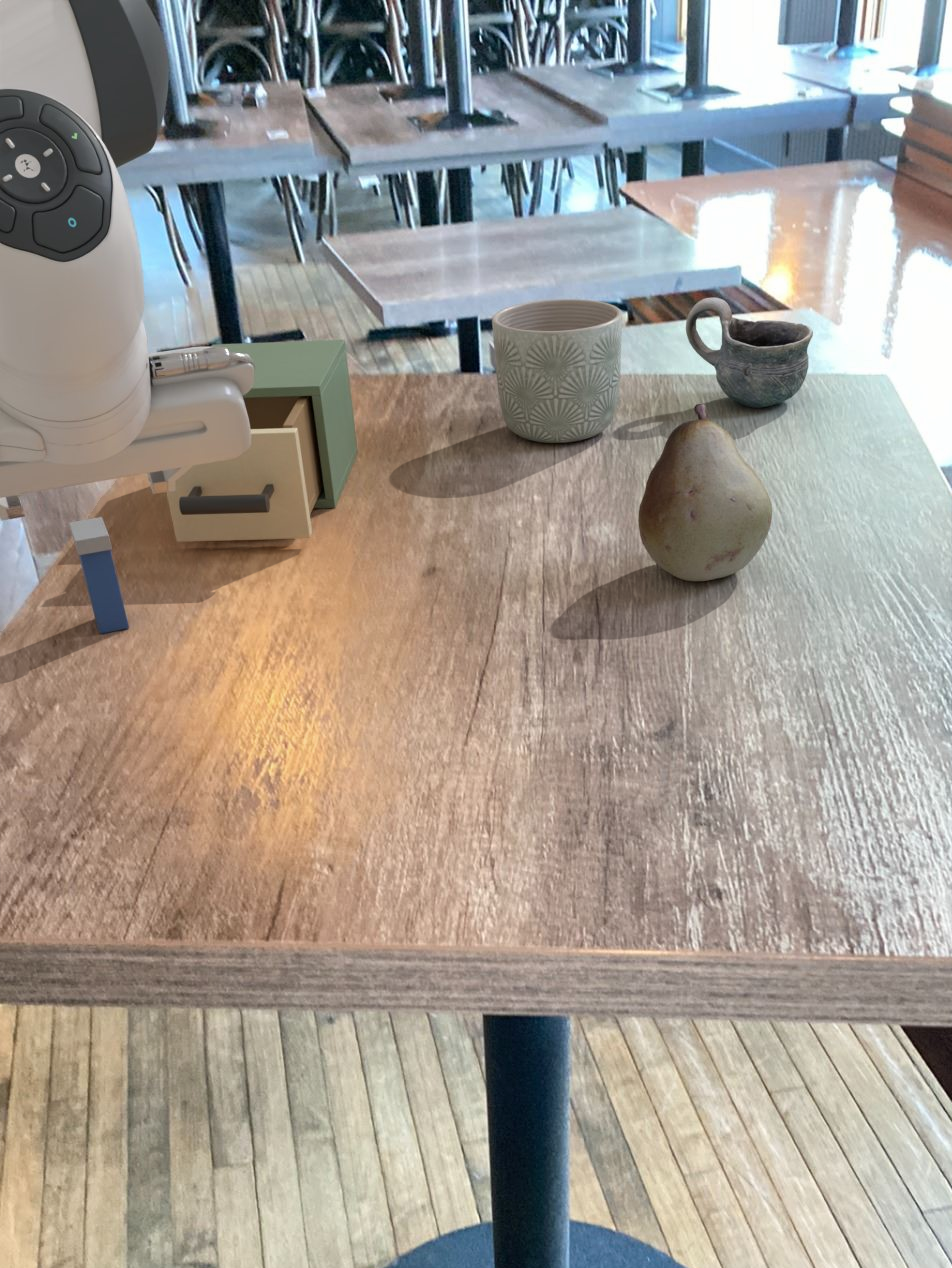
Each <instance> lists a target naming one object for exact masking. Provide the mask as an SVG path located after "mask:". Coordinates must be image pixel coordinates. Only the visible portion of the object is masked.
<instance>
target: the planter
mask: <svg viewBox="0 0 952 1268" xmlns="http://www.w3.org/2000/svg"><path fill="white" fill-rule="evenodd" d="M491 325H492V338H493V351H494V362H495V363H494V364H495V375H496V384H497V391H498V398H499V406H500V411H501V414H502V417H503V420H504V422H505V424H506V426H507V427H508V429H509V430H510V431H511V432H512V433H514V434H515V435H517V436H519V437H520V438H522V439H525V440H529V441H532V442H537V443H544V444H545V443H546V444H548V443H549V444H563V443H573V442H578V441H583V440H586V439H590V438H593V437H595V436H597V435H599V434H600V433H602V432H603V431H605V430H606V429H607V428H608V427H610V425H611V424H612V422H613V420H614V419H615V415H616V413H617V407H618V402H619V394H620V385H621V384H620V383H621V367H622V366H621V365H622V363H621V362H622V341H623V340H622V338H623V337H622V335H623V334H622V333H623V312H622V310H621V309H620V308H618V306H616V305H614V304H611V303H607V302H603V301H600V300H599V301H598V300H592V299H581V298H580V299H579V298H555V299H554V298H553V299H543V300H542V299H541V300H534V301H528V302H522V303H518V304H514V305H512V306H507V307H505V308H502V309H501V310H499V311H497V312H496V313H495V314H494V315H493V316H492V318H491Z"/></svg>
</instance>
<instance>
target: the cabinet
mask: <svg viewBox="0 0 952 1268" xmlns="http://www.w3.org/2000/svg"><path fill="white" fill-rule="evenodd" d="M210 347H226V348H227V349H228V351H229V352H236V353H241V354H248V355H249V356H250V358H251V359H252V361H253V362H254V366H255V370H254V383H253V386H252V388H251V390H250V391H249V392H248V393H246V394H245V395H243V398H260V397H289V396H312V402H313V409H314V417H315V424H316V432H317V439H318V447H319V454H320V462H321V469H322V477H323V484H324V485H323V487H322V489H321V492H320V494H319V496H318V498H317V501H316V503H315V505H314V507H313V509H335V508H336V507H337V504H338V502H339V499H340V498H341V495H342V493H343V491H344V488H345V485H346V483H347V481H348V478H349V476H350V473H351V471H352V468H353V465H354V463H355V460H356V458H357V457H358V454H359V451H358V450H359V449H358V441H357V434H356V433H357V432H356V425H355V424H356V423H355V416H354V415H355V414H354V407H353V406H354V405H353V399H352V389H351V380H350V372H349V364H348V355H347V347H346V340H345V339H326V340H325V339H324V340H299V341H297V340H296V341H273V342H270V341H269V342H247V343H246V342H245V343H243V342H241V343H219V344H215V343H214V344H212V345H210Z"/></svg>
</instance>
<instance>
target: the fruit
mask: <svg viewBox="0 0 952 1268" xmlns="http://www.w3.org/2000/svg"><path fill="white" fill-rule="evenodd" d="M694 412H695V415H697V418H698V419H694V420H689V421H685V422H683V423H681V424H679V425H678V426H676V427H675V428H674V429H673V430H672V431H671V433H670V434H669V436H668V437H667V440H666V442H665V443H664V446H663V449H662V452H661V455H660V457H659V458H658V459H657V461H656V463H655V465H654V466H653V468H652V469H651V471H650V473H649V475H648V477H647V480H646V484H645V488H644V491H643V492H644V493H643V496H642V499H641V502H640V504H639V508H638V517H637V518H638V519H637V520H638V529H639V536H640V540H641V543H642V546H643V548H644V549H645V550H646V552H647V554H648V555H649V557H650V558H651V559H652V561H653V562H654V563H655V564H656V565H657V566H658V567H659V568H661V569H662V570H664V571H665V572H667V573H669V574H671V576H674V577H675V578H677V579H680V580H684V581H687V582H706V581H707V582H709V581H712V580H716V579H722V578H726V577H728V576H731V575H733V574H734V573H737V572H739V571H741V570H742V569H744V568H745V567H746V566H747V565H748V564H750V562H751V561H752V560H753V559H754V558H755V556H756V555H757V554H758V552H759V551H760V550H761V548H762V546H763V545H764V543H765V541H766V539H767V537H768V535H769V532H770V530H771V525H772V519H773V505H772V501H771V500H772V499H771V497H770V496H769V493H768V491H767V489H766V487H765V485H764V483H763V481H762V479H761V478H760V476H759V475H758V473H756V472H755V470H754V469H753V468H752V467H751V466H750V465H749V464H748V463H747V461H746V460H745V459H744V457H742V456H741V454H740V453H739V450H738V448H737V445H736V443H735V441H734V439H733V437H732V436H731V435H730V434H729V432H728V431H727V430H726V429H724V428H723V427H721V426H720V425H718V423H716V422H714V421H713V420H710V419H707V413H706V404H705V403H697V404H695V405H694Z"/></svg>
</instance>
